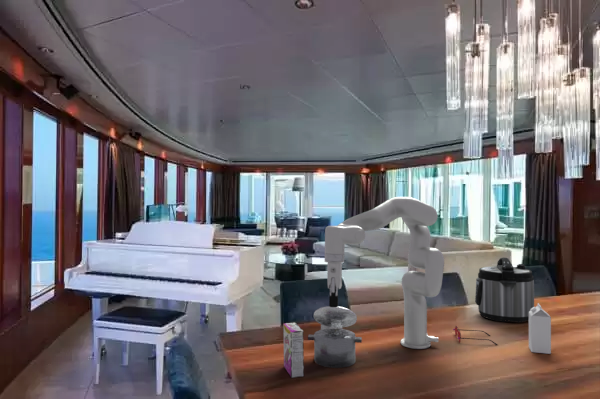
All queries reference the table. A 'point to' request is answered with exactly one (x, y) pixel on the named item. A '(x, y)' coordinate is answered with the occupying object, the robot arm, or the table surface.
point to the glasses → (469, 338)
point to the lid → (335, 317)
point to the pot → (334, 347)
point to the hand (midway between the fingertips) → (333, 306)
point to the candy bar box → (293, 349)
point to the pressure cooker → (505, 292)
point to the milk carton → (539, 330)
